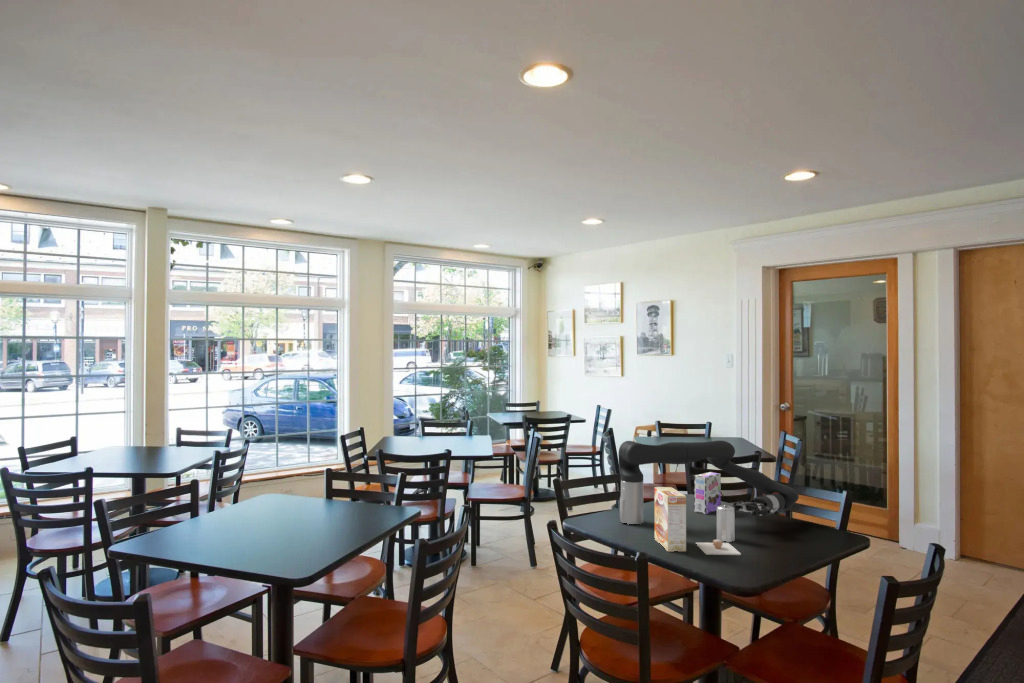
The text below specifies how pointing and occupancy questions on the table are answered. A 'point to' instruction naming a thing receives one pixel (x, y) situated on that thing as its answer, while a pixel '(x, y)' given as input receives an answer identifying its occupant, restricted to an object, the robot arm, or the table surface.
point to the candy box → (707, 492)
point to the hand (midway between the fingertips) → (742, 511)
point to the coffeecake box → (670, 519)
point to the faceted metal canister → (725, 523)
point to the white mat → (725, 549)
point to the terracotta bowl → (717, 543)
